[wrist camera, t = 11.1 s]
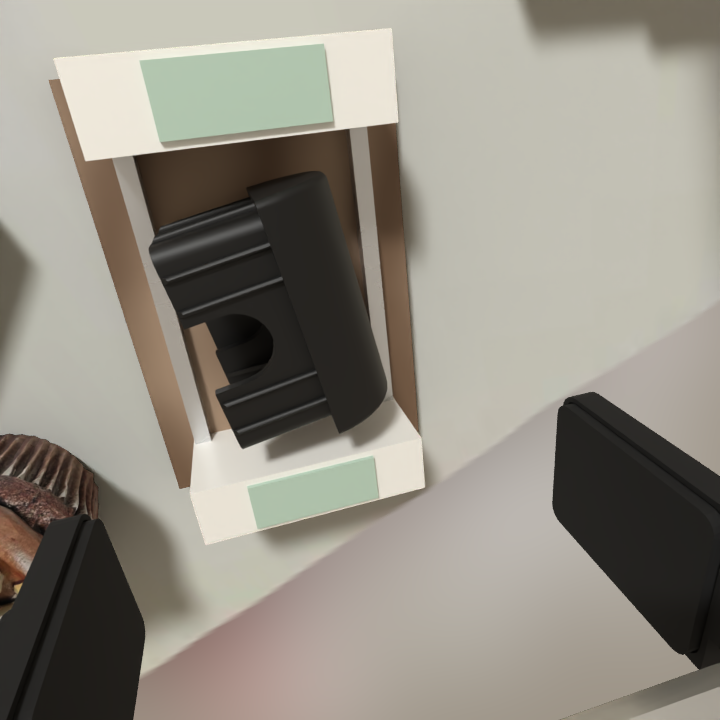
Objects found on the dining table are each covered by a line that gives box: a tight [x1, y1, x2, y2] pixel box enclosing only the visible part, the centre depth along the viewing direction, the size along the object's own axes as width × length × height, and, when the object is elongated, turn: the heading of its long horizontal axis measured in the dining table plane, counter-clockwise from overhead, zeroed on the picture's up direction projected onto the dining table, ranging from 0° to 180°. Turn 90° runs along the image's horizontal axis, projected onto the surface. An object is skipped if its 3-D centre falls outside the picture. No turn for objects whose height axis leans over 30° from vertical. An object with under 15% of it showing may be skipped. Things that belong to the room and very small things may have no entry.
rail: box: [112, 126, 393, 444], centre depth 25 cm, size 11×20×1 cm, turn 7°
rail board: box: [49, 79, 419, 489], centre depth 26 cm, size 14×20×1 cm
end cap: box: [148, 171, 388, 449], centre depth 22 cm, size 10×7×7 cm
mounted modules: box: [53, 28, 425, 545], centre depth 23 cm, size 11×20×5 cm, turn 7°
